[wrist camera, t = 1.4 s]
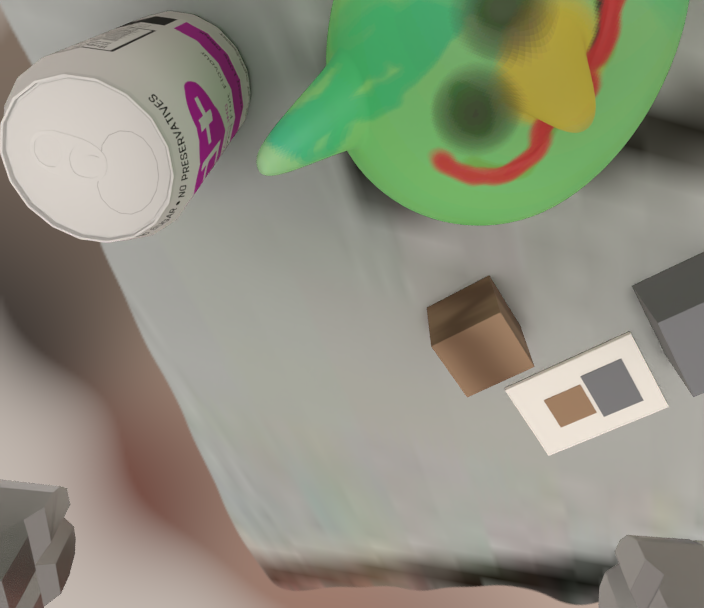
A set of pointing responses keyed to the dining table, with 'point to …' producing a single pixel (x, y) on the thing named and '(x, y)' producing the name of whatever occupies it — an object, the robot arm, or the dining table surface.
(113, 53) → the supplement can
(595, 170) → the toy bird
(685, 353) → the charcoal base block
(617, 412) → the card
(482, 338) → the walnut cube
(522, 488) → the dining table surface
